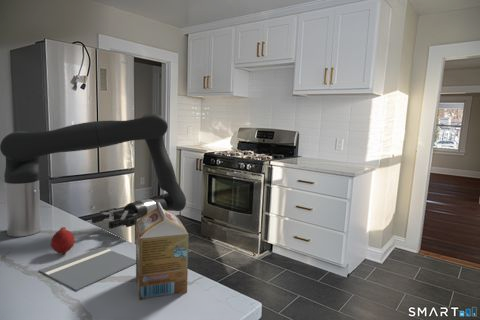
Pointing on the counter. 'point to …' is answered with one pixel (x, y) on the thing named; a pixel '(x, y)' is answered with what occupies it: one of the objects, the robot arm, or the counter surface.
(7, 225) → the robot arm
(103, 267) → the mat
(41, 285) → the counter surface
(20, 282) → the counter surface
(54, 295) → the counter surface
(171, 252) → the milk carton
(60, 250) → the onion
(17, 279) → the counter surface
